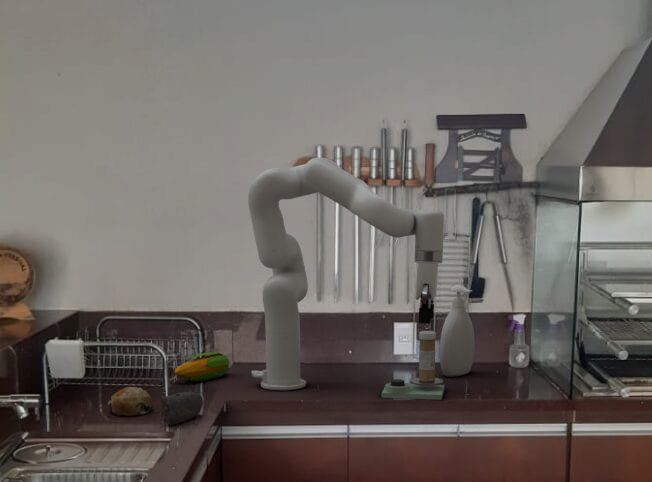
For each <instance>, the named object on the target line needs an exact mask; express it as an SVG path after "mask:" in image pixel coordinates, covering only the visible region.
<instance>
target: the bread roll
mask: <svg viewBox="0 0 652 482" xmlns="http://www.w3.org/2000/svg"><path fill="white" fill-rule="evenodd" d="M110 398H111V399H110V400H109V401H108V402H107V406H109V411H110V412H111V413H112V414H113V415H115V416H118V417H121V416H125V417H135V416H143V415H145V414H147V413H150V412H151V411H152V410H153V408H154V401H153V398H152V396H151V394H149V393H148V392H147V391H146V390H145V389H143V388H142V387H137V386H126V387H123V388H121V389H119V390H117V392H115V393H114V394H112V395H111V397H110Z"/></svg>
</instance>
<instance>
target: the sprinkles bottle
mask: <svg viewBox="0 0 652 482" xmlns="http://www.w3.org/2000/svg"><path fill="white" fill-rule="evenodd" d="M418 339H419V351H418V378H419V380H420V381H424V382H432V381H434V380H435V378H436V377H435V376H436V339H437V333H436V331H435V330H421V331H418Z"/></svg>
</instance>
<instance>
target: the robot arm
mask: <svg viewBox="0 0 652 482" xmlns="http://www.w3.org/2000/svg"><path fill="white" fill-rule="evenodd" d="M317 193H319V194H321V195H323V196H324V197H326V198H328V199H329V200H331V201H333V202H335V203H336V204H338V205H339V206H341V207H343V208H345V209H346V210H347V211H349V212H350V213H352V214H353V215H355V216H356V217H358V218H360V219H361V220H363V221H364V222H366V223H367V224H368V225H370V226H372V227H373V228H375V229H377V230H379V231H381V232H382V233H383V234H386V235H387V236H390V237H391V238H396V239H398V238H404V237H408V236H414V258H413V259H414V260H413V262H414V263H417V267H416V268H417V269H416V281H415V282H416V283H415V285H416V286H415V300H416V301H418V300H419V308H418V324H426V325H427V324H428V325H430V324H431V323H432V319H434V314H435V303H434V299H435V298H436V294H437V288H438V287H437V286H438V274H439V273H438V272H439V264H443V261H444V260H443V259H444V258H443V257H444V238H445V237H444V233H445V214H444V212H443V211H441V210H438V209H437V210H436V209H420V210H417V209H412V208H406V207H398V206H396V205H394V204H393V203H392V202H389V201H388V200H386V199H384V198H383V197H381V196H380V195H378V193H376V192H375V191H373V190H372V189H371V188H370V186H369V185H368V184H367V183H366V182H365V181H364V180H362V179H360V178H358V177H357V176H355V175H353V174H351V173H350V172H349V171H347V170H344V169H343V168H341V167H340V166H339V165H338V164H337V163H336V162H335V161H334V160H333V159H330V158H326V157H319V156H318V157H313V158H311V159H309V160H308V161H307V162H306V163H305V164H301V165H295V166H292V167H271V168H268V169H265V170H263V171H262V172H260V173H259V174H258V175H257V176H256V177H255V178H254V179H253V181H252V182H251V184H250V187H249V189H248V194H247V205H248V210H249V215H250V219H251V224H252V230H253V235H254V239H255V240H254V241H255V245H256V249H257V250H256V251H257V256H258V259H259V261H260V263H261V265H263V266H264V267H265V268H267V269H271V270H272V274H273V275H271V276H269V277H268V279H266V281H265V283H264V285H263V288H262V304H263V311H264V320H265V323H264V328H265V329H264V330H265V369H262V370H251V375H250V376H251V378H253V379H261V382H260V387H261V388H262V389H266V390H270V391H294V390H299V389H304V388H305V387H306V386H307V381H306V380H305V379H303V378H301V319H300V318H301V317H300V311H299V303H300V302H302V301H303V300H304V298H305V297H306V296H307V294H308V289H309V282H308V277H307V272H306V267H305V262H304V257H303V253H302V249H301V246H300V243H299V242H298V240H297V239H296V238H295V237H294V236H293V235H292V234H289V233H287V231H286V226H285V221H284V216H283V213H282V210H281V208H280V201H281V200H294V199H297V198H301V197H305V196H309V195H313V194H317Z"/></svg>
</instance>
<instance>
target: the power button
mask: <svg viewBox="0 0 652 482" xmlns="http://www.w3.org/2000/svg"><path fill="white" fill-rule="evenodd" d="M390 383H391V386H394V387H401V386H404V383H405V380H404V379H398V378H395V379H394V378H393V379H391V380H390Z"/></svg>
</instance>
